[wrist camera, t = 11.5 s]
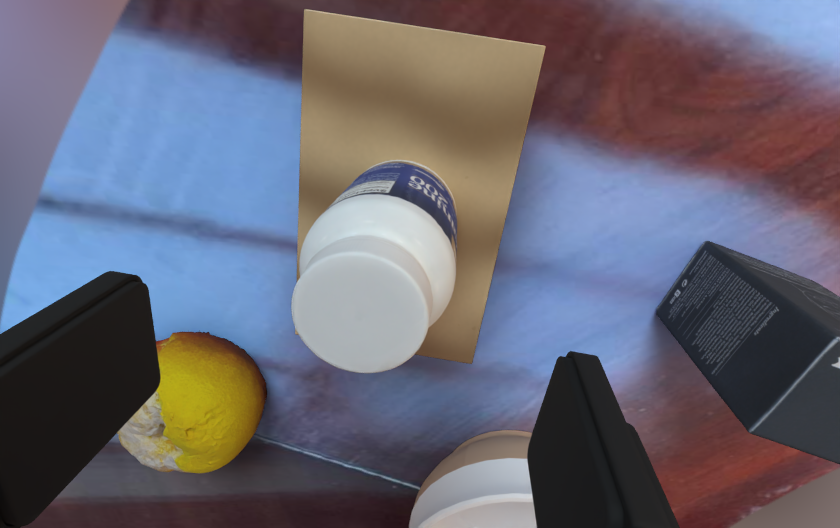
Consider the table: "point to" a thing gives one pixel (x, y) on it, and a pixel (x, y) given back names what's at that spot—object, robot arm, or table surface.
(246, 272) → the table surface
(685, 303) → the box
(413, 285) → the pill bottle
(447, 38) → the shelf
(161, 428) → the fruit
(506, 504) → the bowl
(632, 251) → the table surface
